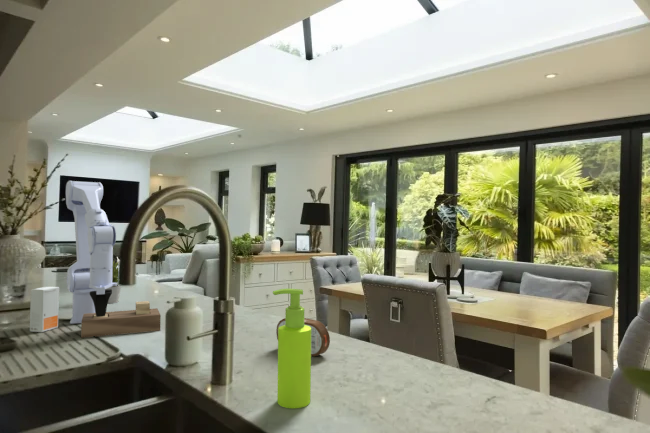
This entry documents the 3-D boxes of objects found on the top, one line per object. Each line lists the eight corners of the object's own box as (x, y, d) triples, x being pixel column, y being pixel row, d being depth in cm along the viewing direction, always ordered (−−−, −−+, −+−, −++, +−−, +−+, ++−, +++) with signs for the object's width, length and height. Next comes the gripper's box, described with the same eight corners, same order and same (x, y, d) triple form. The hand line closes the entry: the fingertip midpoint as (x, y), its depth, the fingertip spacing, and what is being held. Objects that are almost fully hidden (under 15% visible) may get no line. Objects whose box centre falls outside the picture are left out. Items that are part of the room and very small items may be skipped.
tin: (330, 357, 105) (330, 321, 105) (322, 360, 102) (323, 324, 102) (282, 346, 113) (282, 313, 113) (274, 348, 111) (274, 315, 111)
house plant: (95, 298, 176) (96, 257, 176) (133, 297, 179) (133, 257, 179) (85, 305, 162) (85, 261, 162) (125, 304, 165) (126, 260, 165)
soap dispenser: (272, 395, 81) (273, 286, 81) (309, 394, 82) (310, 286, 82) (270, 409, 75) (272, 292, 76) (311, 408, 76) (312, 292, 76)
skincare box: (42, 332, 123) (42, 289, 124) (29, 331, 124) (29, 289, 124) (59, 327, 129) (59, 286, 130) (46, 326, 130) (47, 286, 130)
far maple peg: (135, 315, 131) (135, 301, 131) (148, 314, 132) (148, 301, 132) (136, 317, 128) (136, 304, 128) (149, 316, 129) (149, 303, 129)
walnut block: (83, 329, 128) (83, 313, 128) (157, 322, 136) (157, 308, 136) (81, 337, 119) (81, 321, 119) (160, 330, 127) (160, 314, 127)
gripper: (117, 270, 120) (116, 320, 120) (116, 265, 134) (116, 310, 133) (88, 271, 117) (87, 322, 117) (90, 266, 130) (89, 312, 130)
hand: (100, 316), depth 125 cm, fingers closed, pressing on near maple peg
